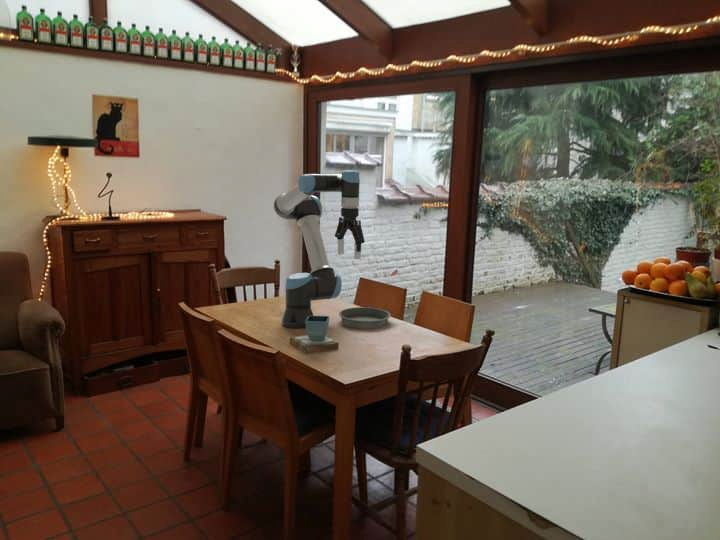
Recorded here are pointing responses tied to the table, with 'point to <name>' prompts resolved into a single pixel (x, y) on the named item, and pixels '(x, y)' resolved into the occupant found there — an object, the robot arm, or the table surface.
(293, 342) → the stand
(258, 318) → the table surface
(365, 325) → the cake pan
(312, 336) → the flower pot
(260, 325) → the table surface
